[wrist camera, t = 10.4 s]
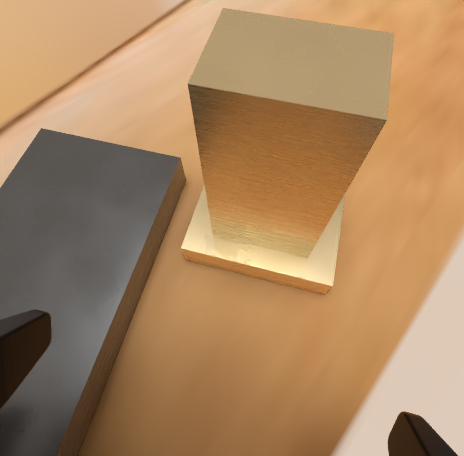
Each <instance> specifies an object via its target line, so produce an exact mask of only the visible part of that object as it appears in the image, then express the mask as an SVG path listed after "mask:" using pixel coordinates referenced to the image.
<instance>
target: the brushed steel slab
mask: <svg viewBox="0 0 464 456" xmlns="http://www.w3.org/2000/svg"><path fill="white" fill-rule="evenodd" d="M185 182H186V178H185V174H184V170H183V166H182V162H181V158H179V157H174V156H169V155H165V154H160V153H155V152H150V151H146V150H141V149H136V148H132V147H127V146H122V145H117V144H113V143H108V142H103V141H99V140H94V139H89V138H84V137H80V136H75V135H70V134H65V133H61V132H56V131H51V130H47V129H42V128H41V130H40V131H39V132H38V134H37V135H36V137H35V138H34V140H33V141H32V143H31V144H30V146H29V147H28V149H27V150H26V151H25V153H24V154H23V156H22V157H21V159H20V160H19V162H18V163H17V165H16V166H15V168H14V169H13V170H12V172H11V173H10V175H9V176H8V178H7V179H6V181H5V182H4V184H3V185H2V186H1V188H0V319H4V318H7V317H10V316H13V315H17V314H20V313H23V312H27V311H30V310H34V309H36V310H41V311H44V312H48V313H49V314H50V315H51V321H52V340H51V343H50V345H49V347H48V349H47V350H46V351H45V353H44V354H43V355H42V357H41V358H40V359H39V361H38V362H37V363H36V365H35V366H34V367H33V369H32V370H31V371H30V372H29V374H28V375H27V376H26V378H25V379H24V380H23V382H22V383H21V384H20V386H19V387H18V388H17V390H16V391H15V392H14V394H13V395H12V396H11V397H10V399H9V400H8V401H7V402H6V403H5V405H4V406H3V407H2V408H1V409H0V456H77V455H78V453H79V450H80V448H81V445H82V443H83V440H84V437H85V435H86V432H87V430H88V427H89V425H90V422H91V420H92V417H93V415H94V412H95V410H96V407H97V405H98V402H99V399H100V397H101V394H102V392H103V389H104V387H105V384H106V382H107V379H108V377H109V374H110V372H111V369H112V367H113V364H114V361H115V359H116V356H117V354H118V351H119V349H120V346H121V344H122V341H123V339H124V336H125V334H126V331H127V329H128V326H129V323H130V321H131V318H132V316H133V313H134V311H135V308H136V306H137V303H138V301H139V298H140V296H141V293H142V291H143V288H144V286H145V283H146V280H147V278H148V275H149V273H150V270H151V268H152V265H153V263H154V260H155V258H156V255H157V253H158V250H159V248H160V245H161V242H162V240H163V237H164V235H165V232H166V230H167V227H168V225H169V222H170V220H171V217H172V215H173V212H174V210H175V207H176V204H177V202H178V199H179V197H180V194H181V192H182V189H183V187H184V184H185Z"/></svg>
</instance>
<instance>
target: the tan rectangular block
mask: <svg viewBox="0 0 464 456" xmlns="http://www.w3.org/2000/svg"><path fill="white" fill-rule="evenodd" d="M393 39H394V33H388V32H381V31H374V30H367V29H361V28H354V27H347V26H340V25H334V24H327V23H320V22H313V21H307V20H300V19H293V18H286V17H280V16H273V15H266V14H259V13H253V12H246V11H239V10H232V9H226V8H223V9H222V12H221V14H220V16H219V18H218V20H217V22H216V24H215V27H214V29H213V31H212V33H211V35H210V37H209V39H208V42H207V44H206V46H205V48H204V50H203V52H202V54H201V57H200V59H199V61H198V63H197V65H196V67H195V69H194V72H193V74H192V76H191V78H190V80H189V82H188V88H189V94H190V100H191V106H192V112H193V118H194V124H195V130H196V136H197V142H198V148H199V154H200V161H201V167H202V173H203V179H204V186H203V189H202V192H201V194H200V197H199V200H198V203H197V205H196V208H195V211H194V213H193V216H192V219H191V222H190V224H189V227H188V230H187V233H186V235H185V238H184V241H183V244H182V246H181V250H182V252H183V255H184V257H185V259H186V260H190V261H194V262H198V263H202V264H206V265H210V266H214V267H218V268H222V269H226V270H230V271H234V272H238V273H241V274H245V275H249V276H253V277H257V278H261V279H265V280H269V281H273V282H277V283H281V284H285V285H289V286H292V287H296V288H300V289H304V290H308V291H312V292H316V293H320V294H325V293H326V292H327V291H328V290H329V289H330V288H331V287H332V286H333V280H334V273H335V266H336V259H337V251H338V244H339V237H340V229H341V222H342V215H343V208H344V200H345V193H346V191H347V189H348V187H349V186H350V184H351V182H352V180H353V179H354V177H355V175H356V173H357V172H358V170H359V168H360V166H361V165H362V163H363V161H364V159H365V158H366V156H367V154H368V152H369V151H370V149H371V147H372V145H373V144H374V142H375V140H376V138H377V137H378V135H379V133H380V131H381V130H382V128H383V126H384V124H385V122H386V121H387V113H388V101H389V89H390V76H391V64H392V52H393Z"/></svg>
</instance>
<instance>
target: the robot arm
mask: <svg viewBox="0 0 464 456" xmlns="http://www.w3.org/2000/svg"><path fill="white" fill-rule="evenodd" d="M51 340H52V321H51V315H50V314H49V313H48V312H44V311H41V310H36V309H34V310H30V311H27V312H23V313H20V314H17V315H13V316H10V317H7V318H4V319H0V409H1V408H2V407H3V406H4V405H5V403H6V402H7V401H8V400H9V399H10V397H11V396H12V395H13V394H14V392H15V391H16V390H17V388H18V387H19V386H20V384H21V383H22V382H23V380H24V379H25V378H26V376H27V375H28V374H29V372H30V371H31V370H32V369H33V367H34V366H35V365H36V363H37V362H38V361H39V359H40V358H41V357H42V355H43V354H44V353H45V351H46V350H47V349H48V347H49V345H50V343H51ZM388 451H389V456H458V455H457V454H456V453H455V452H454V451H453V450H452V449H451V448H450V447H449V445H448V444H447V443H446V442H445V441H444V440H443V439H442V438H441V437H440V436H439V435H438V434H437V433H436V431H435V430H434V429H432V427H431V426H430V425H429V424H428V423H427V422H426V421H425V420H424V419H423V418H422V417H421V416H419V415H416V414H412V413H408V412H401V413H400V414H399V415H398V417H397V420H396V422H395V424H394V426H393V428H392V430H391V432H390V435H389V438H388Z"/></svg>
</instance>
